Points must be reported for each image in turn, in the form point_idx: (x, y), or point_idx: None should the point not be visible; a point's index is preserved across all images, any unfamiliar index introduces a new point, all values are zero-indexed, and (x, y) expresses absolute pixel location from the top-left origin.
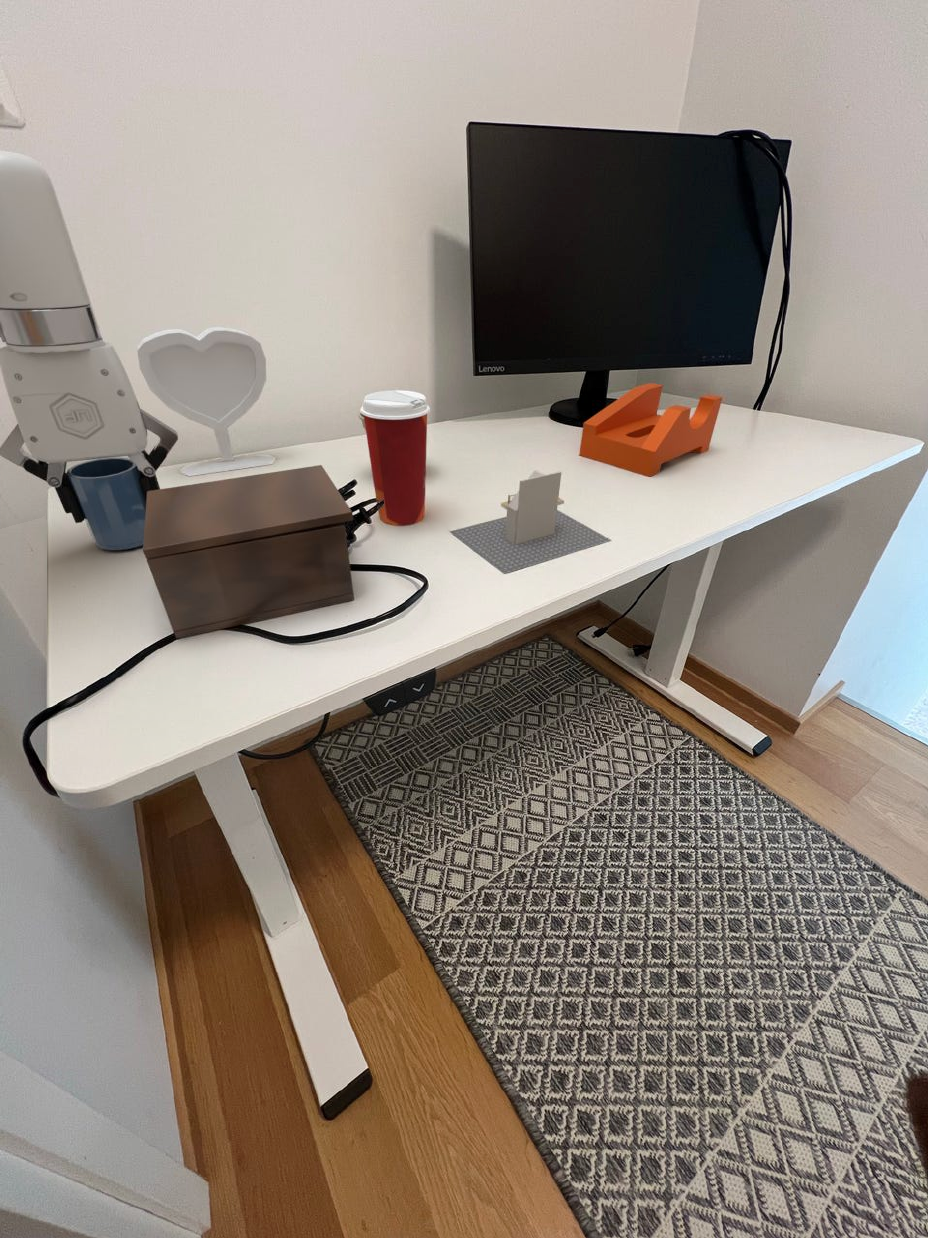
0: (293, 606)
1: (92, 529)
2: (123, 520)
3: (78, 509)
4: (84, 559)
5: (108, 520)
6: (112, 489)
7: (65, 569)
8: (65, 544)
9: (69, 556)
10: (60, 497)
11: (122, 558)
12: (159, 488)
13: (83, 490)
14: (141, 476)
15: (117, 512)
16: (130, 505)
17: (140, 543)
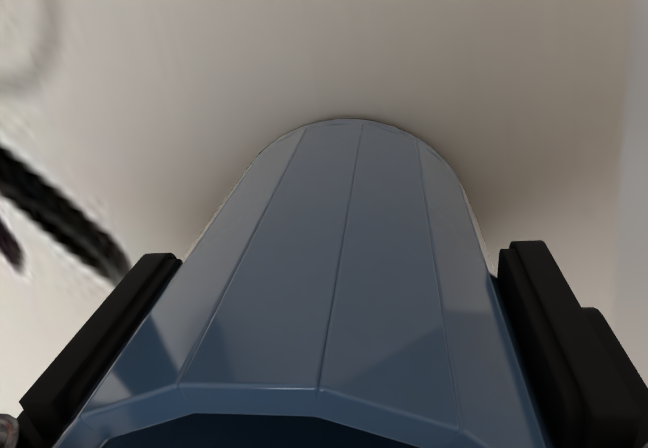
0: None
1: (460, 201)
2: (281, 176)
3: (518, 286)
4: (513, 102)
5: (353, 176)
6: (215, 291)
7: (596, 18)
8: (588, 265)
9: (575, 152)
10: (631, 380)
11: (351, 59)
12: None
13: (451, 332)
14: None
15: (283, 196)
16: (206, 238)
17: (278, 141)
